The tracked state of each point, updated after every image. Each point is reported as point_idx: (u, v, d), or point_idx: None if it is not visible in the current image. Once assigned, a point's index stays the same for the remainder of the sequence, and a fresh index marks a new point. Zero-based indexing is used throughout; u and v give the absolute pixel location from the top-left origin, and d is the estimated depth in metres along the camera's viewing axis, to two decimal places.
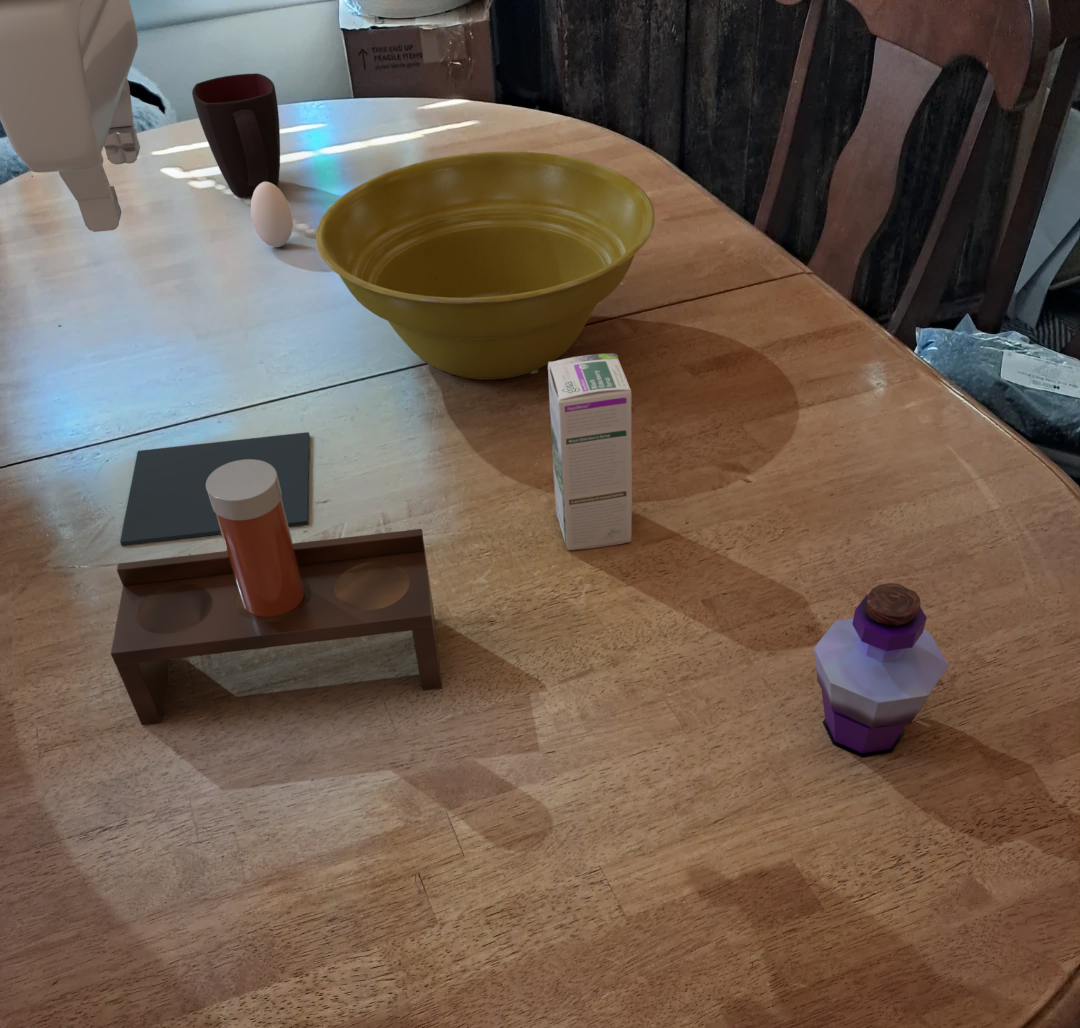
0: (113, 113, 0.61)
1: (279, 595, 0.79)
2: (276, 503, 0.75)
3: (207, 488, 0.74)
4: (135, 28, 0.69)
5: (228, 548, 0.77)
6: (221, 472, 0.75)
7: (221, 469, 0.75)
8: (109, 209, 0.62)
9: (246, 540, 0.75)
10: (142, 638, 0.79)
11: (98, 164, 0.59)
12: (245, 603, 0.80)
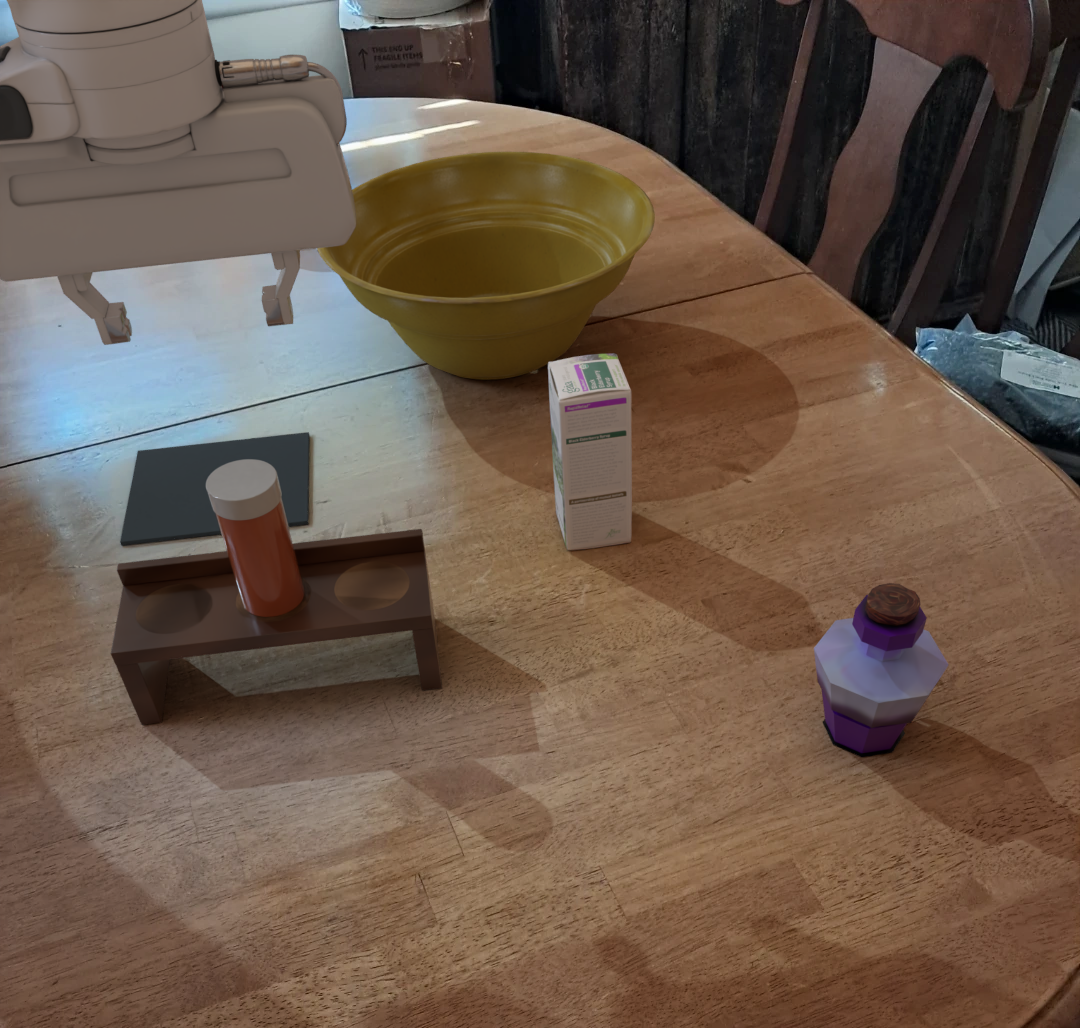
0: (118, 265, 0.62)
1: (279, 595, 0.79)
2: (276, 503, 0.75)
3: (207, 488, 0.74)
4: (336, 228, 0.62)
5: (228, 548, 0.77)
6: (221, 472, 0.75)
7: (221, 469, 0.75)
8: None
9: (246, 540, 0.75)
10: (142, 638, 0.79)
11: (63, 288, 0.63)
12: (245, 603, 0.80)
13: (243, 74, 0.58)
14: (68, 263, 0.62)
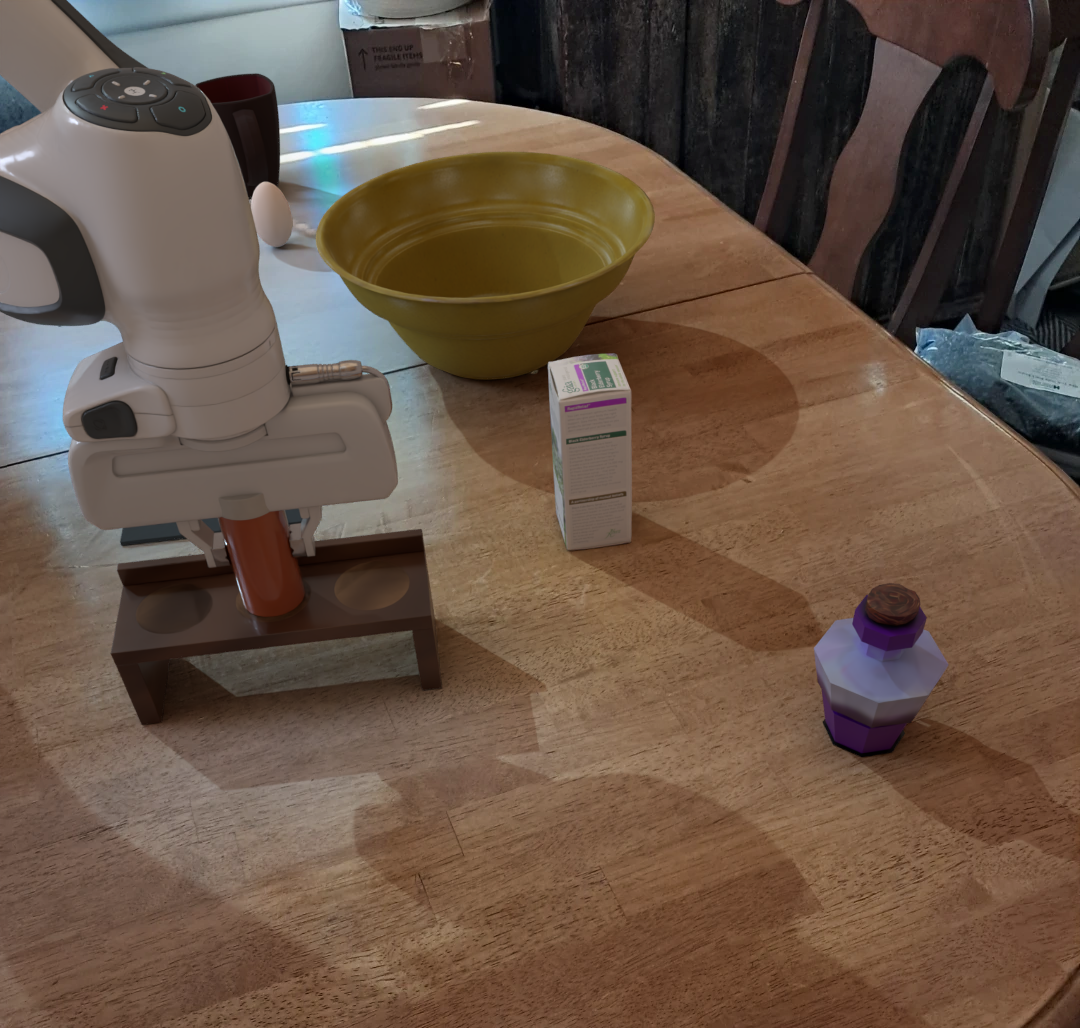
0: (198, 517, 0.74)
1: (279, 595, 0.79)
2: None
3: None
4: (381, 487, 0.74)
5: (228, 548, 0.77)
6: None
7: None
8: None
9: (246, 539, 0.75)
10: (142, 638, 0.79)
11: (179, 528, 0.76)
12: (245, 603, 0.80)
13: (309, 377, 0.69)
14: (157, 517, 0.74)
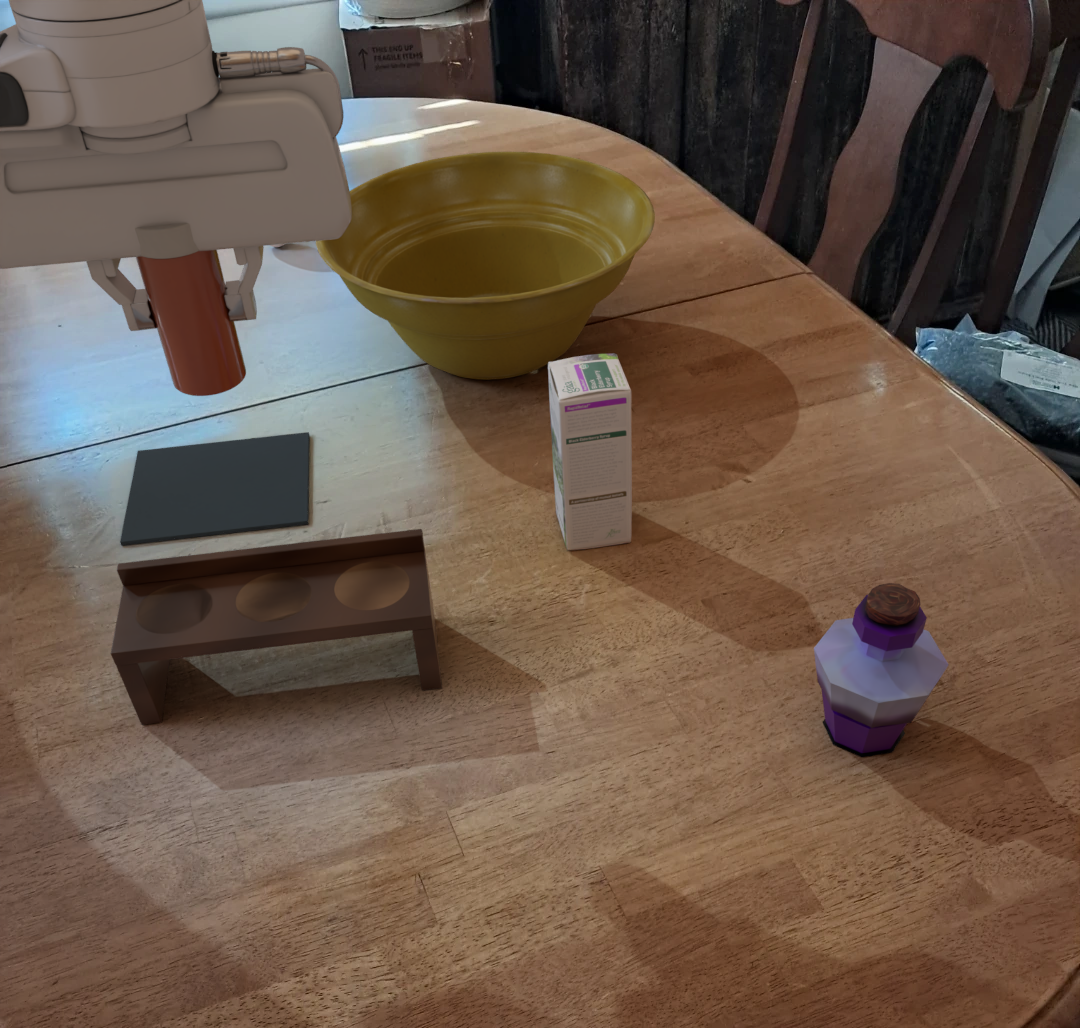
0: (113, 254, 0.62)
1: (214, 366, 0.67)
2: None
3: None
4: (331, 222, 0.62)
5: (152, 302, 0.65)
6: None
7: None
8: None
9: (171, 287, 0.63)
10: (142, 638, 0.79)
11: (91, 273, 0.64)
12: (175, 379, 0.68)
13: (240, 66, 0.58)
14: (62, 252, 0.62)
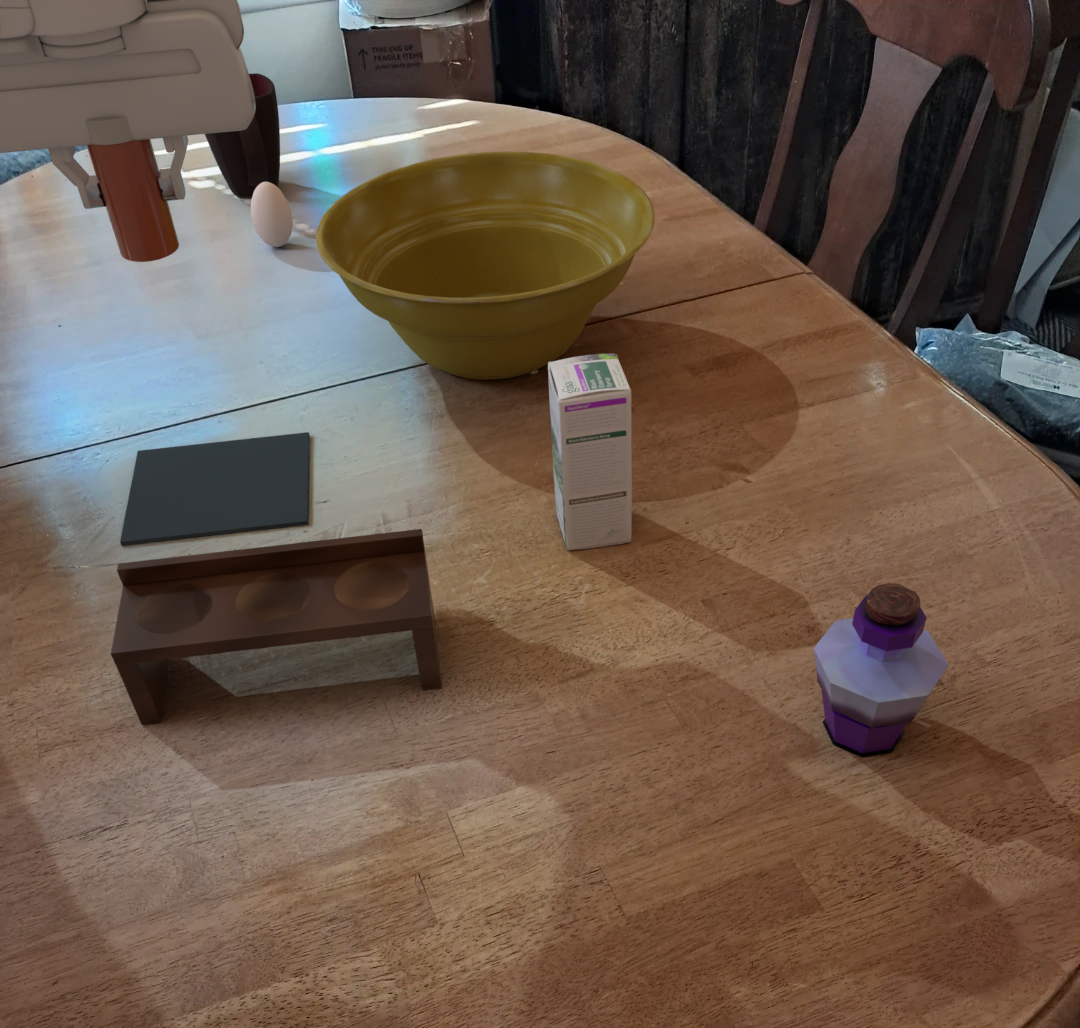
0: (68, 142, 0.80)
1: (151, 236, 0.85)
2: None
3: None
4: (237, 115, 0.80)
5: (100, 183, 0.83)
6: None
7: None
8: None
9: (114, 169, 0.81)
10: (142, 638, 0.79)
11: (52, 159, 0.81)
12: (121, 249, 0.86)
13: None
14: (29, 140, 0.80)
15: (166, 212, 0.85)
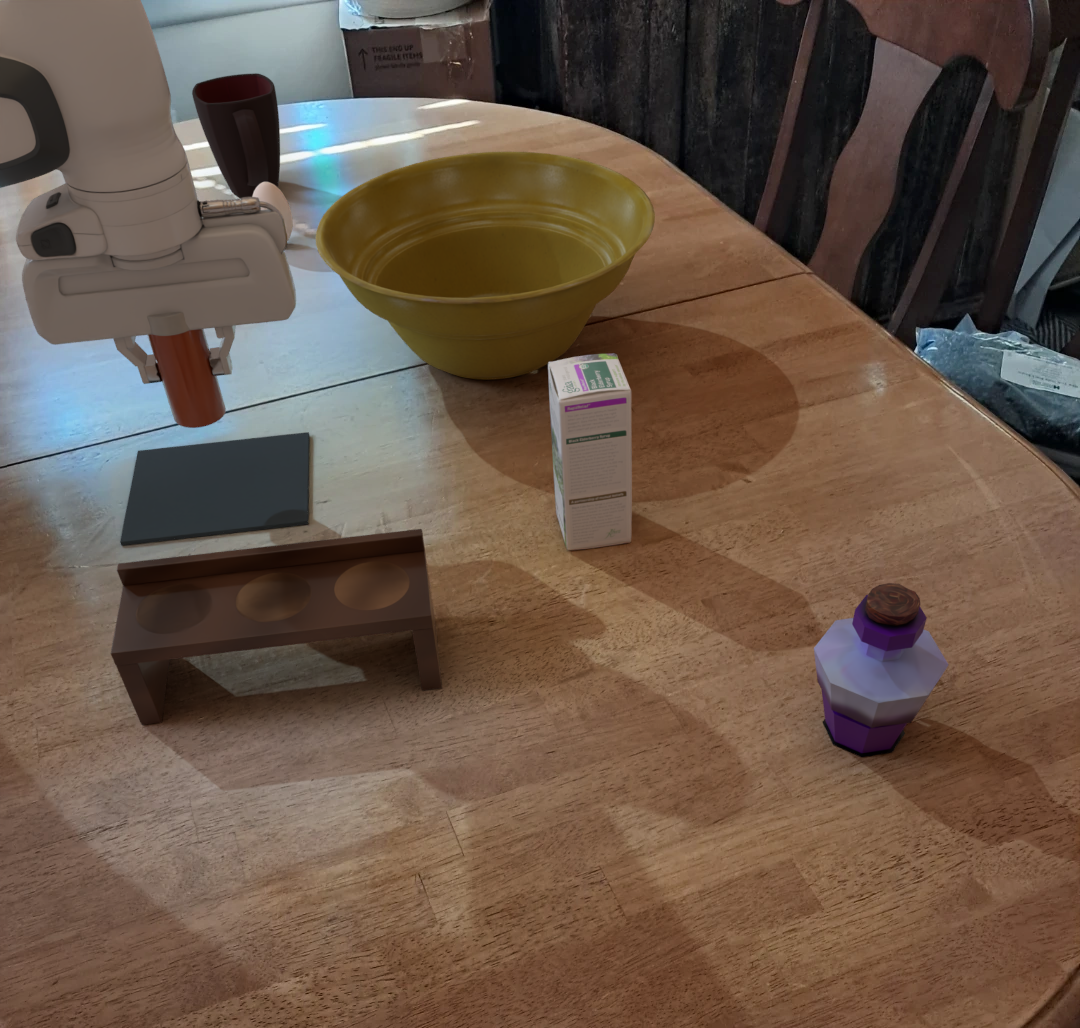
0: (131, 333, 0.91)
1: (202, 407, 0.96)
2: None
3: None
4: (281, 309, 0.91)
5: (158, 364, 0.93)
6: None
7: None
8: None
9: (171, 354, 0.92)
10: (142, 638, 0.79)
11: (116, 345, 0.92)
12: (175, 416, 0.97)
13: (216, 210, 0.86)
14: (97, 332, 0.90)
15: (215, 385, 0.96)
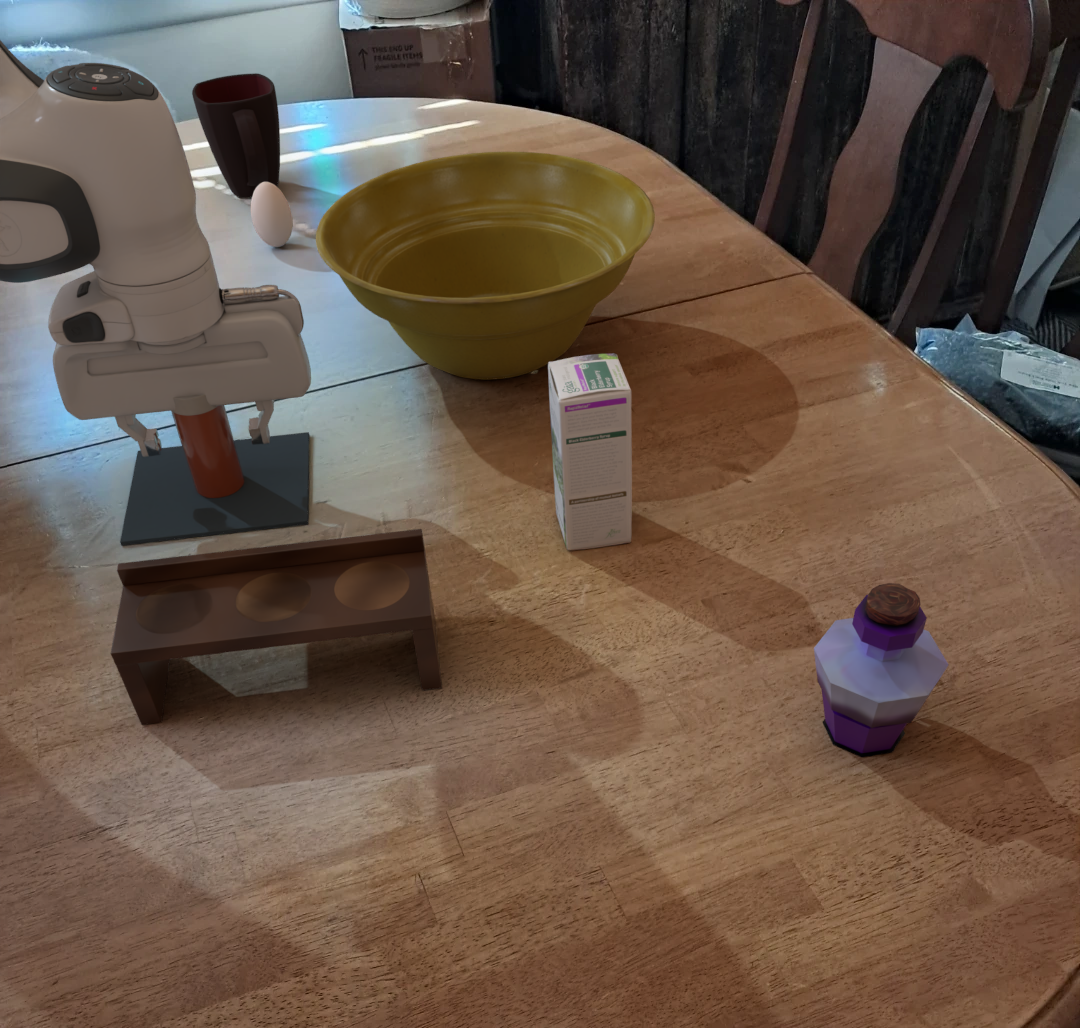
0: (155, 410, 0.96)
1: (223, 479, 1.01)
2: None
3: None
4: (297, 387, 0.96)
5: (182, 440, 0.99)
6: None
7: None
8: None
9: (195, 432, 0.97)
10: (142, 638, 0.79)
11: (118, 422, 0.97)
12: (197, 487, 1.02)
13: (237, 298, 0.91)
14: (122, 409, 0.95)
15: (235, 458, 1.01)
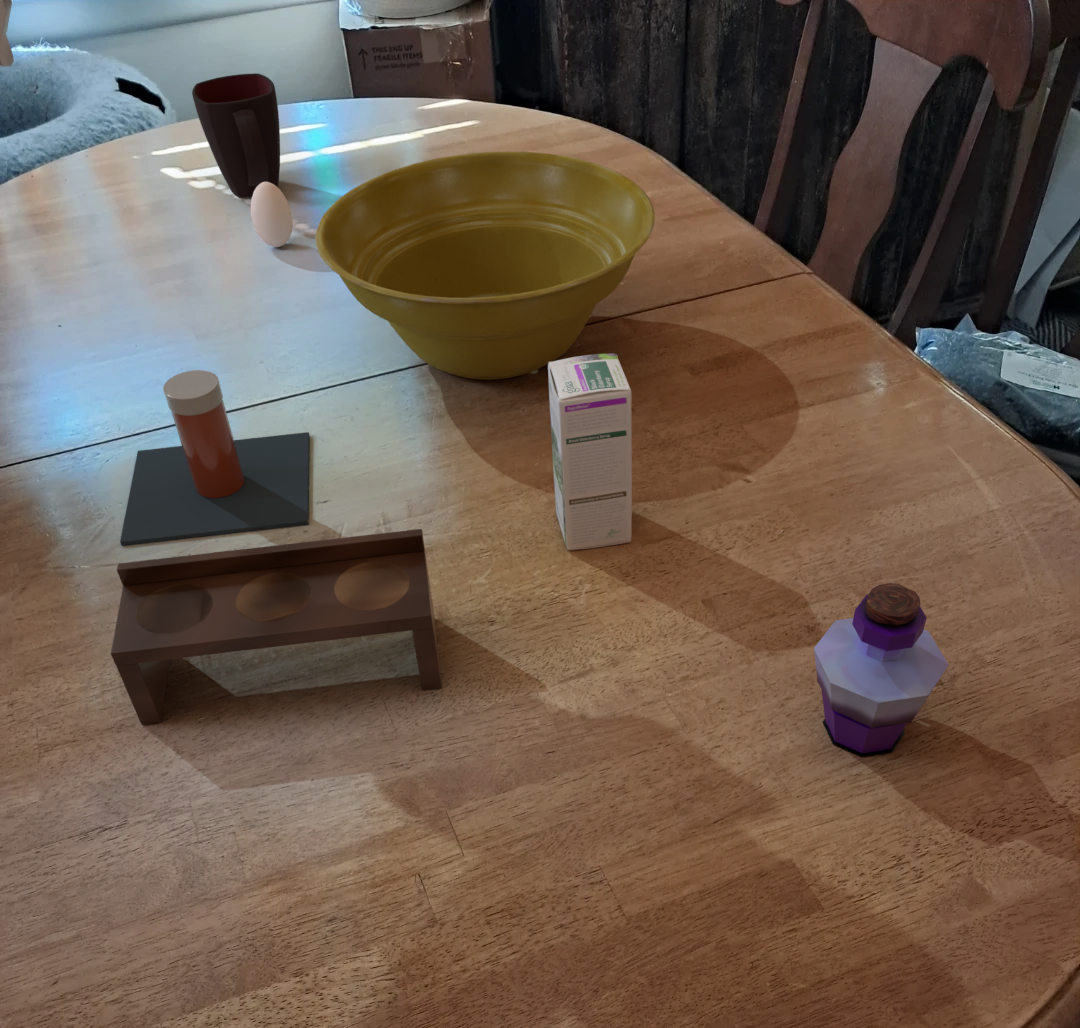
0: None
1: (223, 479, 1.01)
2: (218, 403, 0.97)
3: (164, 390, 0.96)
4: None
5: (182, 440, 0.99)
6: (175, 379, 0.97)
7: (175, 377, 0.97)
8: None
9: (195, 432, 0.97)
10: (142, 638, 0.79)
11: None
12: (197, 487, 1.02)
13: None
14: None
15: (235, 458, 1.01)
